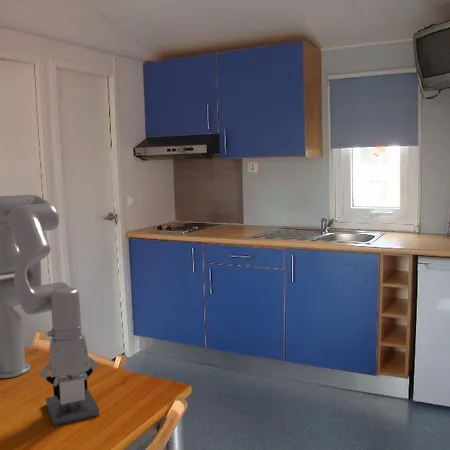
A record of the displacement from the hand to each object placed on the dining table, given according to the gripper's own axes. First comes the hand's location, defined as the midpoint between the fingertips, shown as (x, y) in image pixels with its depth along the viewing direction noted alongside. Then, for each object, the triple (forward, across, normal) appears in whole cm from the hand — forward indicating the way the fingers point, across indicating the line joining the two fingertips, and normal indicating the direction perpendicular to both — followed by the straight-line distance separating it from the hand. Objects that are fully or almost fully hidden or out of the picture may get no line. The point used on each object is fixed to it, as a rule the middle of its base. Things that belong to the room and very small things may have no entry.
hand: (70, 394), depth 146 cm
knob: (+1, 0, 0) cm, 1 cm away
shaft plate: (+5, 0, 0) cm, 5 cm away
